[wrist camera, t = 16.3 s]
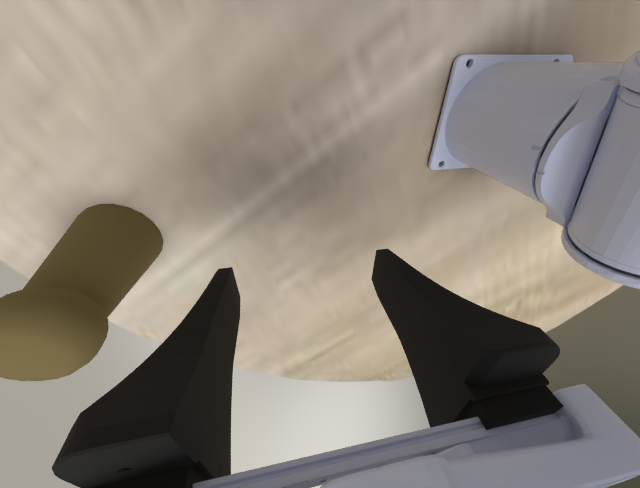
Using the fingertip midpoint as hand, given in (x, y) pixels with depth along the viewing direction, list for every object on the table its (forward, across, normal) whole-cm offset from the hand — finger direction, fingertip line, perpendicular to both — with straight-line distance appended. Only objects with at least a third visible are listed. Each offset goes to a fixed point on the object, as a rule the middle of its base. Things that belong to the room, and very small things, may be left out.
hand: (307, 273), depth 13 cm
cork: (+11, +14, +3) cm, 18 cm away
